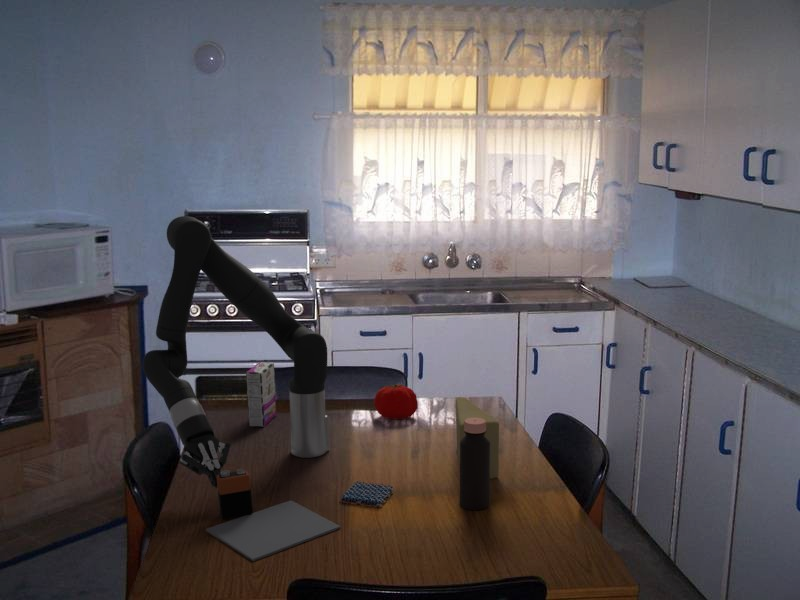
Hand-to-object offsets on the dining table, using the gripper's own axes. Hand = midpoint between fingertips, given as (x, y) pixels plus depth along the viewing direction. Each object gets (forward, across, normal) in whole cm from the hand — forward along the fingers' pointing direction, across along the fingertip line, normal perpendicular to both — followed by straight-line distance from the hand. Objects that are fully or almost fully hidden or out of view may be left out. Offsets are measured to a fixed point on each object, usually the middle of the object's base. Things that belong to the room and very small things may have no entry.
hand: (220, 486), depth 205 cm
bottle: (+31, +43, -24) cm, 58 cm away
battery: (+8, 0, -1) cm, 8 cm away
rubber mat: (+16, +2, -9) cm, 19 cm away
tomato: (-11, +71, +18) cm, 74 cm away
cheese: (+18, +60, -10) cm, 64 cm away
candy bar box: (-28, +40, +35) cm, 60 cm away
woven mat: (+17, +28, -9) cm, 34 cm away
